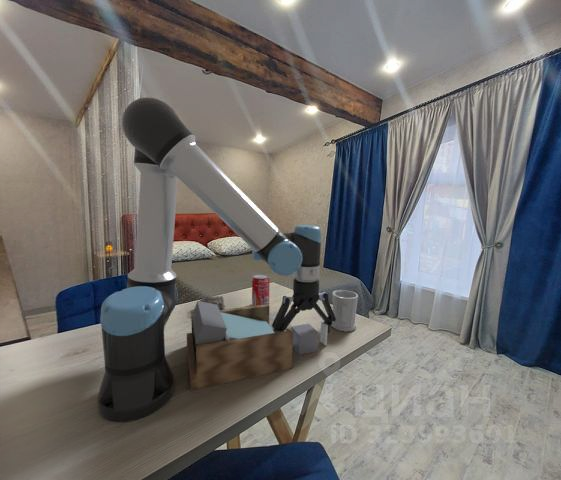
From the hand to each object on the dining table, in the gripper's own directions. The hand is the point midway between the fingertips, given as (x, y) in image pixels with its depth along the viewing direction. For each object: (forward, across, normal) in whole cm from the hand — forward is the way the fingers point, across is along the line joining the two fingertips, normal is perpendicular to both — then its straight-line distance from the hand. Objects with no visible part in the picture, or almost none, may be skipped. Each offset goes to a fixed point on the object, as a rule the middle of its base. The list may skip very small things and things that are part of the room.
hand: (304, 347), depth 82 cm
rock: (0, -22, +36) cm, 43 cm away
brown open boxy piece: (0, -20, +2) cm, 20 cm away
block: (0, 0, 0) cm, 0 cm away
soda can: (0, -3, +35) cm, 35 cm away
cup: (0, +19, +8) cm, 21 cm away
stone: (+1, -4, +18) cm, 18 cm away
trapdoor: (-6, -21, +2) cm, 22 cm away
